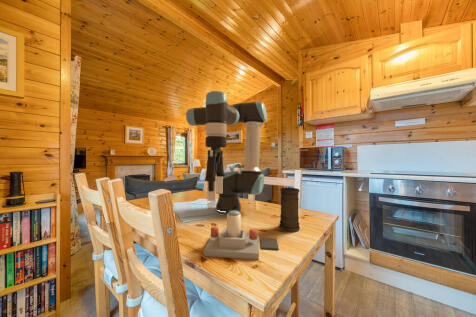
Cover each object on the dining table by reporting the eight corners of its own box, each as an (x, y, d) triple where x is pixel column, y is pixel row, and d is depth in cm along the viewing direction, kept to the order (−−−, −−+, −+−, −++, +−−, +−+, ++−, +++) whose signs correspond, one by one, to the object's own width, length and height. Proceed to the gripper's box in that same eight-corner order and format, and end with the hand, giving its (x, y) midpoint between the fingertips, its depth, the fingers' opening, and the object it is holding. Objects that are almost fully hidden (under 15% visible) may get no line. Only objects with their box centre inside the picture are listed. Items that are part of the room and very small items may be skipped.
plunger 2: (249, 236, 69) (249, 228, 69) (257, 236, 69) (257, 229, 69) (249, 239, 66) (249, 231, 66) (257, 240, 66) (257, 232, 66)
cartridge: (227, 238, 71) (228, 209, 71) (241, 239, 70) (241, 210, 70) (225, 244, 66) (225, 213, 66) (239, 245, 65) (240, 214, 65)
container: (300, 232, 81) (301, 191, 81) (279, 231, 83) (280, 190, 83) (298, 225, 90) (299, 187, 90) (279, 223, 92) (279, 186, 91)
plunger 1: (211, 234, 70) (211, 226, 70) (219, 234, 70) (219, 227, 70) (209, 237, 68) (209, 229, 68) (217, 237, 67) (217, 230, 67)
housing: (213, 237, 76) (213, 224, 76) (258, 239, 74) (258, 227, 74) (203, 255, 62) (203, 240, 62) (258, 259, 60) (258, 244, 60)
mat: (261, 238, 75) (261, 237, 75) (276, 239, 74) (276, 238, 74) (261, 248, 67) (261, 247, 67) (278, 250, 66) (278, 248, 66)
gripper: (213, 138, 80) (213, 190, 81) (195, 132, 56) (194, 205, 57) (230, 138, 79) (230, 190, 80) (219, 132, 56) (219, 205, 56)
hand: (215, 196), depth 68 cm, fingers open, 11 cm apart
